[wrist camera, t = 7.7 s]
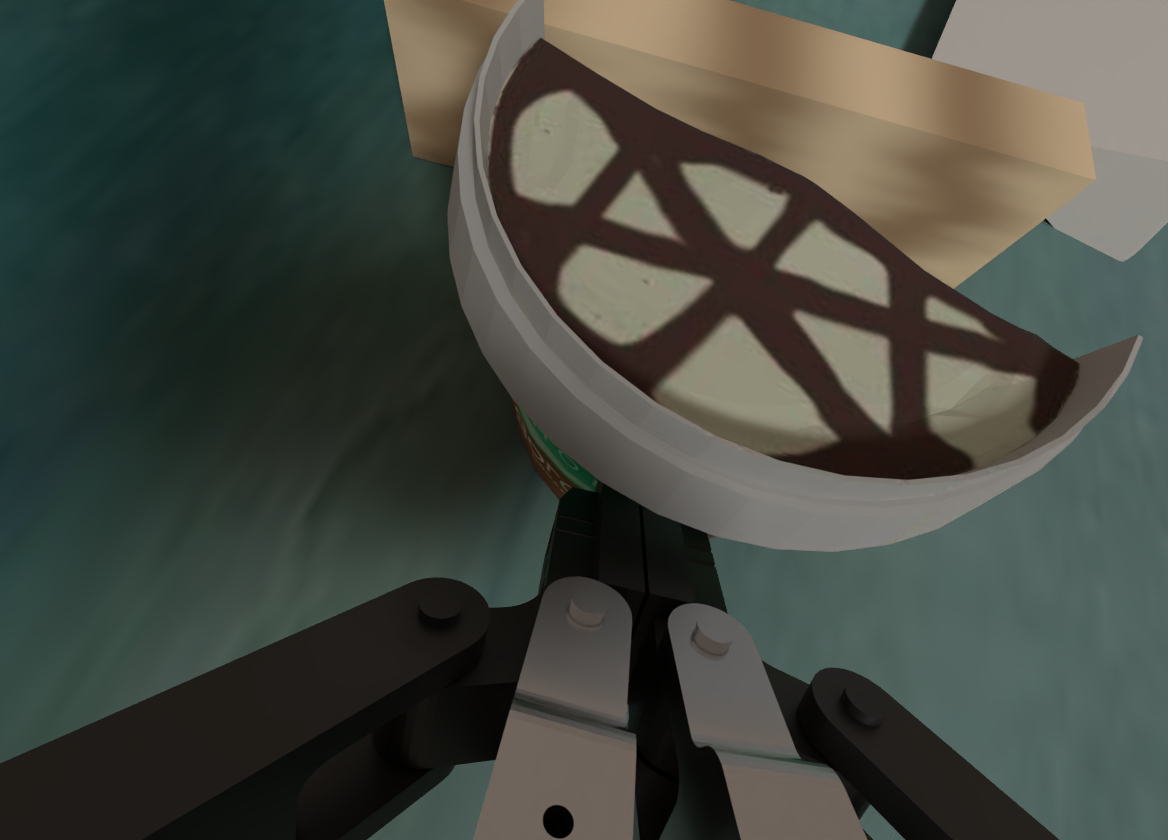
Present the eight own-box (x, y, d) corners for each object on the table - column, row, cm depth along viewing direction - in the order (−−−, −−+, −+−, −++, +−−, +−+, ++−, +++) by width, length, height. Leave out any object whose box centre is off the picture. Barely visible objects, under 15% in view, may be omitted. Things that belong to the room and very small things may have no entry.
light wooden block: (412, 156, 20) (379, -23, 15) (453, 61, 22) (437, -131, 17) (941, 298, 21) (1096, 180, 16) (938, 195, 23) (1076, 57, 18)
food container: (383, 429, 17) (238, 180, 8) (507, 288, 19) (514, -39, 10) (740, 678, 16) (1080, 745, 7) (827, 498, 18) (1176, 356, 9)
